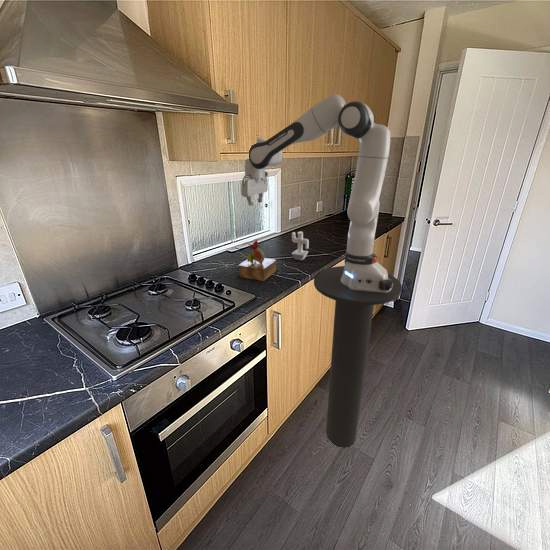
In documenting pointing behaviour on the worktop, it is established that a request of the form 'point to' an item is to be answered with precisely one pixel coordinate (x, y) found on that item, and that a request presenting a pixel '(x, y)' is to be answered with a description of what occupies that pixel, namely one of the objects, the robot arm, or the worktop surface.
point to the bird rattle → (256, 256)
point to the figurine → (300, 246)
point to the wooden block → (257, 269)
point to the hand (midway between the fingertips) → (255, 203)
